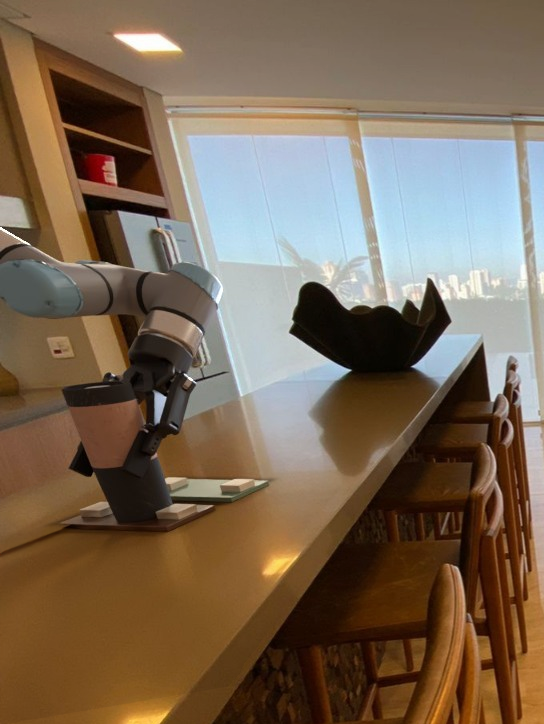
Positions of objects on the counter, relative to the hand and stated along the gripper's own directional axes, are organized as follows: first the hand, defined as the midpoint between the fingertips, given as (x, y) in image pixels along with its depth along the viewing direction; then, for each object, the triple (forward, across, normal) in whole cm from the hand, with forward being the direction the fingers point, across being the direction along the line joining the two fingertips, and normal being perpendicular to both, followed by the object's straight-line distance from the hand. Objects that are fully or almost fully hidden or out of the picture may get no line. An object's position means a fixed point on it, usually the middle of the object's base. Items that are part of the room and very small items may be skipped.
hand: (105, 473), depth 82 cm
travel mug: (+3, 0, -8) cm, 9 cm away
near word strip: (+4, +1, -8) cm, 9 cm away
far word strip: (-5, +1, -17) cm, 18 cm away
